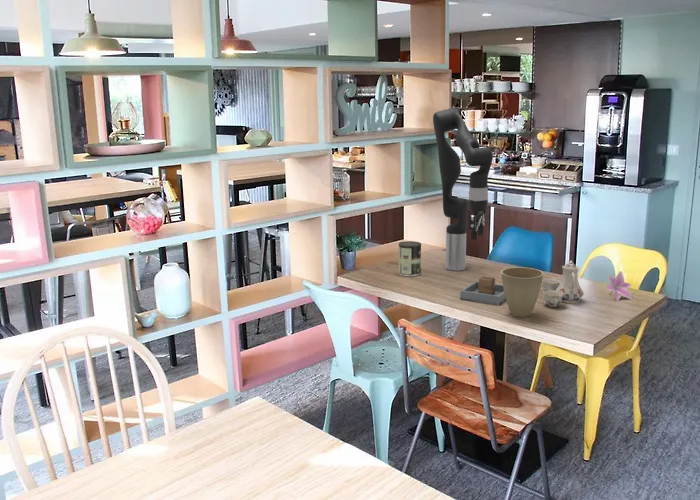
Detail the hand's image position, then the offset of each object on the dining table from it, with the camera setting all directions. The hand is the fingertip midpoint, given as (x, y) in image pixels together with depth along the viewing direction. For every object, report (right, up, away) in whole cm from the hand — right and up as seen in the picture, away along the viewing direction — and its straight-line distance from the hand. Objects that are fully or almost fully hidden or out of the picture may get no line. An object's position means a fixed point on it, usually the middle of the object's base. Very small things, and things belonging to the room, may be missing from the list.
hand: (477, 237), depth 268 cm
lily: (+54, -24, -6) cm, 60 cm away
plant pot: (+11, -29, -23) cm, 39 cm away
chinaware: (+32, -25, -7) cm, 41 cm away
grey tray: (+3, -24, -3) cm, 24 cm away
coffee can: (-24, -16, +34) cm, 45 cm away
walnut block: (+3, -23, -3) cm, 24 cm away
